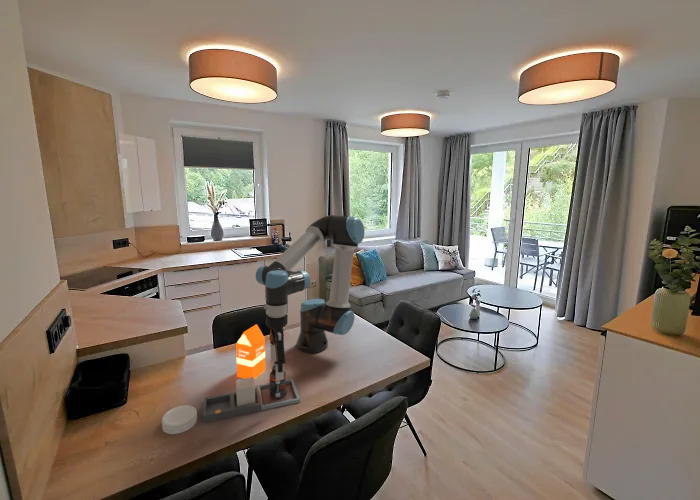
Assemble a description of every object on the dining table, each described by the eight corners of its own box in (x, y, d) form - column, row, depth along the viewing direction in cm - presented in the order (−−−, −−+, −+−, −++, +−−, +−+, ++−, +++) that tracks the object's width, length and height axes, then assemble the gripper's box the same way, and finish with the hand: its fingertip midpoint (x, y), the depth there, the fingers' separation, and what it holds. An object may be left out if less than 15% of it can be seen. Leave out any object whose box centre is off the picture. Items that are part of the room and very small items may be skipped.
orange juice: (236, 376, 132) (235, 330, 129) (250, 366, 140) (249, 322, 137) (253, 381, 129) (251, 334, 126) (265, 370, 138) (265, 325, 134)
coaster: (160, 439, 99) (159, 428, 98) (164, 418, 108) (163, 408, 107) (196, 430, 103) (196, 420, 102) (197, 410, 112) (197, 401, 111)
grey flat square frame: (292, 381, 130) (292, 378, 130) (299, 402, 117) (299, 399, 117) (257, 388, 125) (257, 385, 125) (261, 410, 113) (260, 407, 112)
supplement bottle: (282, 401, 118) (281, 372, 116) (266, 398, 119) (266, 370, 117) (288, 391, 124) (288, 363, 122) (273, 389, 125) (273, 361, 123)
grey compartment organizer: (257, 393, 121) (257, 373, 120) (260, 411, 112) (260, 388, 111) (205, 403, 115) (203, 382, 114) (203, 422, 106) (202, 399, 104)
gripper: (262, 304, 126) (262, 355, 129) (270, 329, 103) (270, 390, 106) (281, 302, 128) (281, 352, 132) (294, 326, 105) (293, 386, 109)
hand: (276, 369), depth 119 cm, fingers open, 13 cm apart
